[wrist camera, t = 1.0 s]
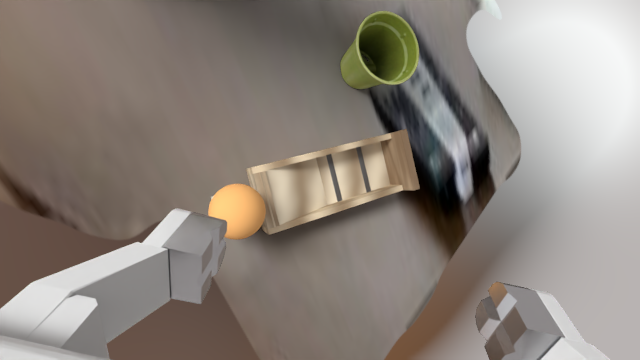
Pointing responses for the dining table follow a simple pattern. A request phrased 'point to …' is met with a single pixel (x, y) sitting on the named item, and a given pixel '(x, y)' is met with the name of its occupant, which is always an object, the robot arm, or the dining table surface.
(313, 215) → the lane
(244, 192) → the ball
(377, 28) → the plant pot
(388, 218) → the dining table surface
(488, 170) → the dining table surface
